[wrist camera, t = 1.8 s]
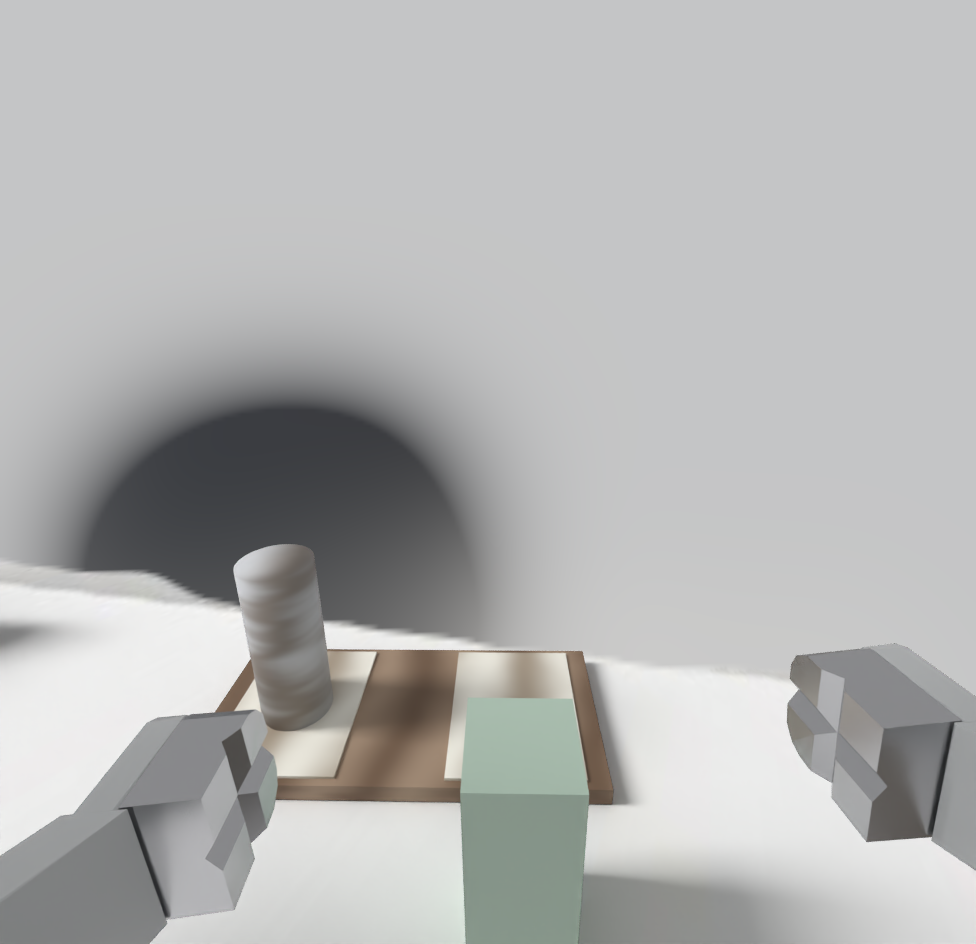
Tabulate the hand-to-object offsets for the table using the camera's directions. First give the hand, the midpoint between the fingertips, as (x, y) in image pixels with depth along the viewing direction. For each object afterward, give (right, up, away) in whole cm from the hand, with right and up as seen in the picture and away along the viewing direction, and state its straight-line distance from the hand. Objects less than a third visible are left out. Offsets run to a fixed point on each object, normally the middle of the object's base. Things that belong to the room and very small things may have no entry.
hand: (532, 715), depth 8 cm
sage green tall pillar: (+1, -19, +19) cm, 27 cm away
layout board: (-7, -15, +31) cm, 35 cm away
